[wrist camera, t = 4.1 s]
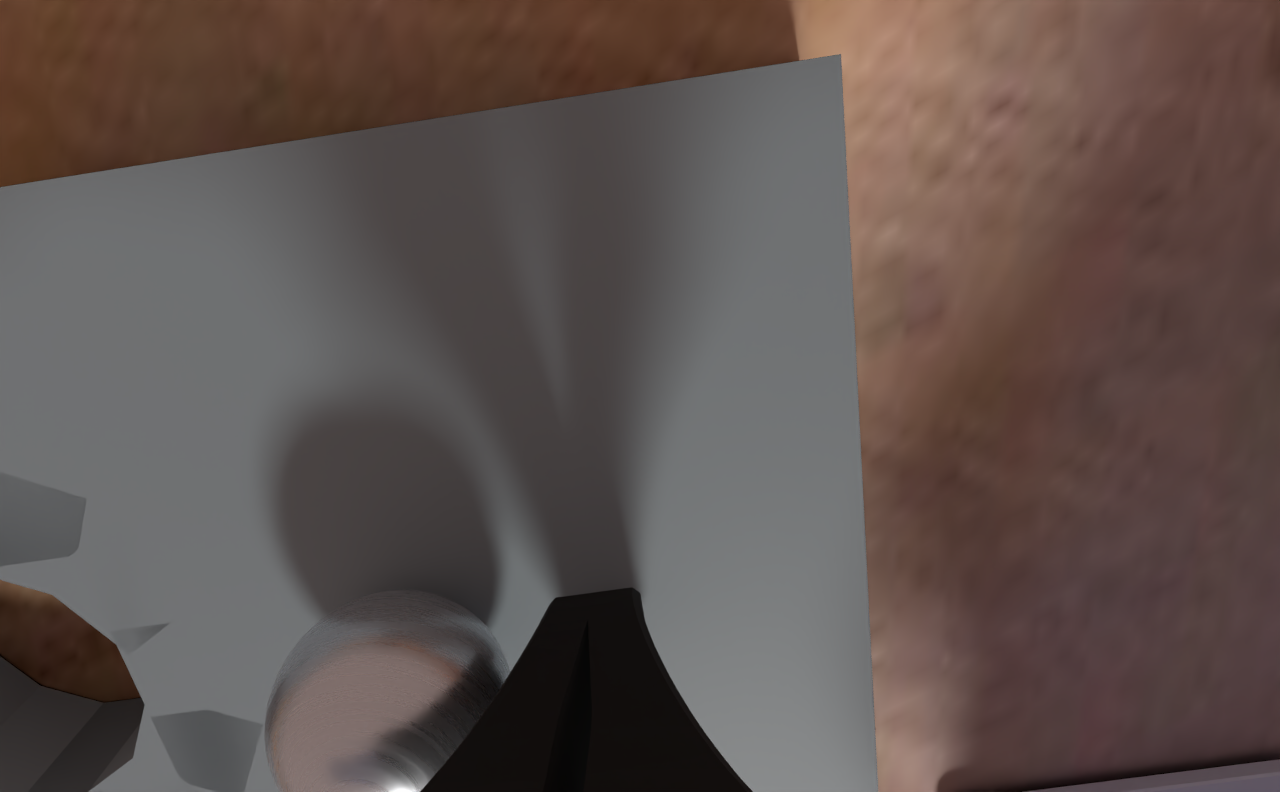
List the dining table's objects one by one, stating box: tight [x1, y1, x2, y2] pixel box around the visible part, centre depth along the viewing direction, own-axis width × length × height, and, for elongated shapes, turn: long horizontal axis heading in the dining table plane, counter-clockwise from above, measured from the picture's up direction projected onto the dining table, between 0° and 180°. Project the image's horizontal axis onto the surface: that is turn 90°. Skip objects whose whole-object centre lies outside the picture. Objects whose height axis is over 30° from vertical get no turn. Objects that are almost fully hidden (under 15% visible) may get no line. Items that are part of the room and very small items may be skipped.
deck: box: [0, 54, 878, 792], centre depth 15 cm, size 20×16×2 cm
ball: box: [264, 590, 511, 792], centre depth 12 cm, size 4×4×4 cm
